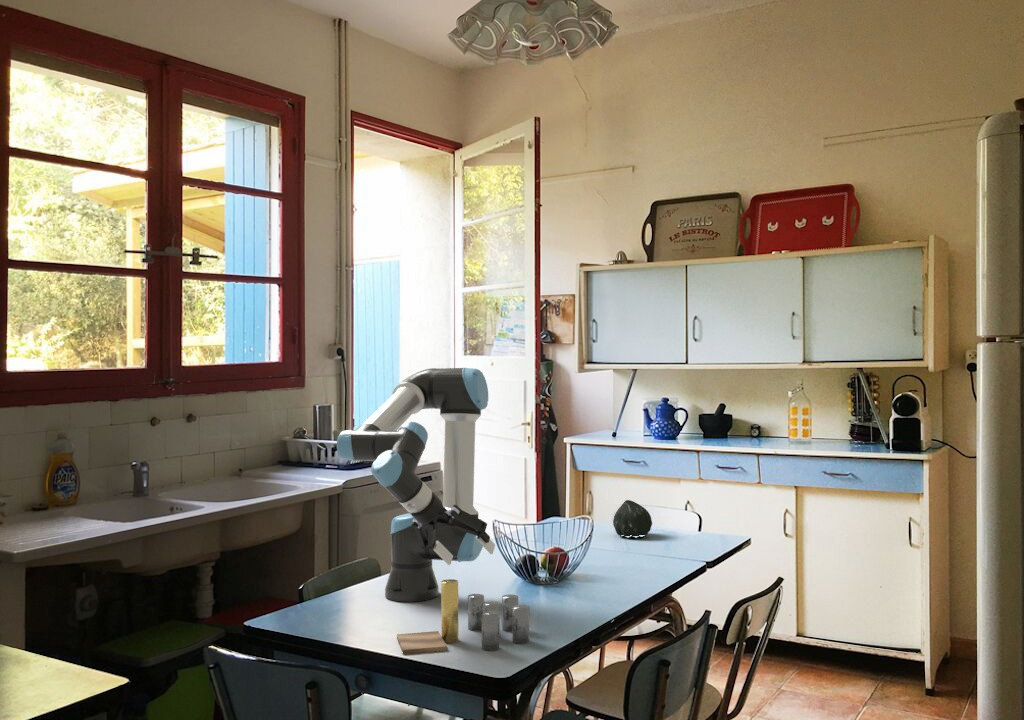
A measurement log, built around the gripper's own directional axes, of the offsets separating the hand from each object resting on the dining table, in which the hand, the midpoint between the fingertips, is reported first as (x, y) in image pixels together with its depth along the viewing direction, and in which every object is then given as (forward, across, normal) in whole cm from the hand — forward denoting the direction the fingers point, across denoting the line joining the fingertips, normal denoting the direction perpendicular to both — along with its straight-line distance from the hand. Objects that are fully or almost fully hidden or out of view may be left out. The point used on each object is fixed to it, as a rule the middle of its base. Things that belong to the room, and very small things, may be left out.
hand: (471, 555), depth 220 cm
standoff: (+3, -2, -22) cm, 22 cm away
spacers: (+11, +6, -17) cm, 21 cm away
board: (-1, -6, -25) cm, 26 cm away
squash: (+94, -17, +83) cm, 127 cm away
